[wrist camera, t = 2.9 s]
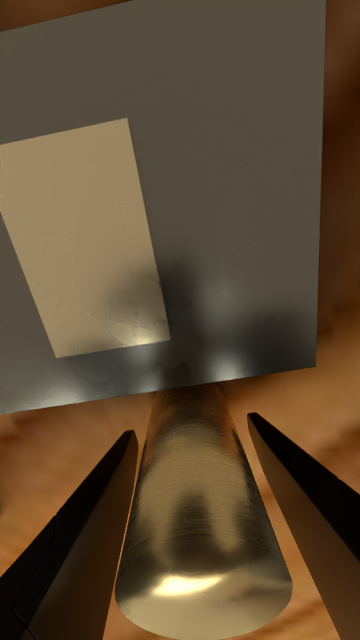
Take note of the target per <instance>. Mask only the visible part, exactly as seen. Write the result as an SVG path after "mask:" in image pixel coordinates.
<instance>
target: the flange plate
mask: <svg viewBox="0 0 360 640" xmlns="http://www.w3.org/2000/svg"><path fill="white" fill-rule="evenodd" d="M325 25H326V0H132V1H128V2H124V3H120V4H116V5H111V6H107V7H103V8H99V9H95V10H90V11H86V12H82V13H78V14H74V15H70V16H65V17H61V18H57V19H53V20H49V21H44V22H40V23H36V24H32V25H28V26H24V27H19V28H15V29H11V30H7V31H3V32H0V414H6V413H12V412H19V411H25V410H32V409H39V408H45V407H52V406H59V405H65V404H72V403H79V402H85V401H92V400H98V399H105V398H112V397H118V396H125V395H132V394H138V393H145V392H151V391H158V390H165V389H171V388H178V387H185V386H191V385H198V384H204V383H211V382H218V381H224V380H231V379H238V378H244V377H251V376H257V375H264V374H271V373H277V372H284V371H291V370H297V369H304V368H310V367H316V341H317V306H318V270H319V235H320V200H321V165H322V130H323V95H324V60H325Z"/></svg>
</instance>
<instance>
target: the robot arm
mask: <svg viewBox="0 0 360 640" xmlns="http://www.w3.org/2000/svg"><path fill="white" fill-rule="evenodd" d="M247 421H248V429H249V433H250V436H251V439H252V442H253V444H254V447H255V450H256V453H257V456H258V458H259V461H260V464H261V467H262V469H263V472H264V474H265V476H266V479H267V481H268V483H269V485H270V487H271V490H272V492H273V494H274V496H275V498H276V500H277V503H278V505H279V507H280V509H281V511H282V513H283V516H284V518H285V520H286V522H287V524H288V526H289V528H290V531H291V533H292V535H293V537H294V539H295V541H296V544H297V546H298V548H299V550H300V552H301V554H302V557H303V559H304V561H305V563H306V565H307V567H308V570H309V572H310V574H311V576H312V578H313V580H314V583H315V585H316V587H317V589H318V591H319V593H320V596H321V598H322V600H323V602H324V604H325V606H326V608H327V611H328V613H329V615H330V617H331V619H332V621H333V624H334V626H335V628H336V630H337V632H338V634H339V637H340V639H341V640H360V494H358V493H357V492H356V491H354V490H353V489H352V488H351V487H349V486H348V485H347V484H346V483H344V482H343V481H342V480H339V479H338V477H337V476H335V475H334V474H333V473H332V472H330V471H329V470H328V469H327V468H325V467H324V466H323V465H322V464H320V463H319V462H318V461H317V460H315V459H314V458H313V457H312V456H310V455H309V454H308V453H307V452H305V451H304V450H303V449H302V448H300V447H299V446H298V445H297V444H295V443H294V442H293V441H292V440H290V439H289V438H288V437H287V436H285V435H284V434H283V433H282V432H280V431H279V430H278V429H277V428H275V427H274V426H273V425H271V424H270V423H269V422H268V421H266V420H265V419H264V418H263V417H261V416H260V415H259V414H258V413H256V412H253V413H248V414H247ZM137 456H138V441H137V437H136V434H135V431H134V430H128V431H125V432H124V433H123V434H122V435H121V437H120V438H119V439H118V440H117V441H116V442H115V444H114V445H113V446H112V447H111V448H110V450H109V451H108V452H107V453H106V454H105V456H104V457H103V458H102V459H101V460H100V462H99V463H98V464H97V465H96V466H95V468H94V469H93V470H92V471H91V472H90V474H89V475H88V476H87V477H86V478H85V480H84V481H83V482H82V483H81V484H80V486H79V487H78V488H77V489H76V490H75V492H74V493H73V494H72V495H71V496H70V498H69V499H68V500H67V501H66V502H65V504H64V505H63V506H62V507H61V508H60V510H59V511H58V512H57V514H56V515H55V516H54V517H53V518H52V519H51V520H50V521H49V523H48V524H47V525H46V526H45V527H44V529H43V530H42V531H41V532H40V533H39V534H38V536H37V537H36V538H35V539H34V540H33V541H32V543H31V544H30V545H29V546H28V547H27V548H26V549H25V551H24V552H23V553H22V554H21V555H20V556H19V557H18V558H17V559H16V561H15V562H14V563H13V564H12V565H11V566H10V567H9V568H8V569H7V571H6V572H5V573H4V574H3V575H2V576H1V577H0V640H102V639H103V635H104V630H105V625H106V620H107V615H108V610H109V606H110V601H111V596H112V591H113V586H114V581H115V576H116V572H117V567H118V562H119V557H120V552H121V547H122V543H123V538H124V533H125V528H126V523H127V518H128V513H129V509H130V504H131V499H132V494H133V488H134V481H135V473H136V464H137Z"/></svg>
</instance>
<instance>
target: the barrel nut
mask: <svg viewBox="0 0 360 640" xmlns="http://www.w3.org/2000/svg"><path fill="white" fill-rule="evenodd" d="M292 589H293V586H292V579H291V577H290V574H289V571H288V569H287V566H286V563H285V560H284V558H283V555H282V552H281V550H280V547H279V544H278V541H277V539H276V536H275V533H274V530H273V528H272V525H271V522H270V520H269V517H268V514H267V511H266V509H265V506H264V503H263V501H262V498H261V495H260V492H259V490H258V487H257V484H256V481H255V479H254V476H253V473H252V471H251V468H250V465H249V462H248V460H247V457H246V454H245V452H244V449H243V446H242V443H241V441H240V438H239V435H238V433H237V430H236V427H235V424H234V422H233V419H232V416H231V413H230V411H229V408H228V405H227V403H226V400H225V397H224V394H223V392H222V390H221V388H220V387H219V386H218V384H217V383H216V382H211V383H204V384H198V385H191V386H185V387H178V388H171V389H165V390H158V391H156V393H155V396H154V400H153V405H152V410H151V415H150V419H149V424H148V429H147V434H146V439H145V444H144V449H143V453H142V458H141V463H140V468H139V473H138V478H137V483H136V487H135V492H134V497H133V502H132V507H131V512H130V517H129V521H128V526H127V531H126V536H125V541H124V546H123V551H122V555H121V560H120V565H119V570H118V575H117V580H116V584H115V599H116V602H117V605H118V606H119V608H120V610H121V611H122V613H123V614H124V615H125V616H126V617H127V618H128V619H129V620H130V621H132V622H133V623H135V624H136V625H138V626H139V627H141V628H143V629H145V630H147V631H150V632H152V633H155V634H158V635H161V636H165V637H169V638H174V639H181V640H219V639H226V638H231V637H235V636H239V635H243V634H246V633H249V632H251V631H254V630H256V629H258V628H260V627H262V626H264V625H266V624H268V623H269V622H271V621H272V620H273V619H275V618H276V617H277V616H278V615H279V614H280V613H281V612H282V611H283V610H284V609H285V607H286V606H287V604H288V603H289V601H290V598H291V595H292Z"/></svg>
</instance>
